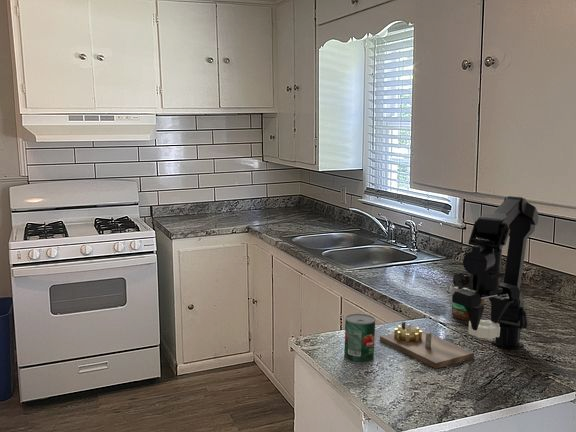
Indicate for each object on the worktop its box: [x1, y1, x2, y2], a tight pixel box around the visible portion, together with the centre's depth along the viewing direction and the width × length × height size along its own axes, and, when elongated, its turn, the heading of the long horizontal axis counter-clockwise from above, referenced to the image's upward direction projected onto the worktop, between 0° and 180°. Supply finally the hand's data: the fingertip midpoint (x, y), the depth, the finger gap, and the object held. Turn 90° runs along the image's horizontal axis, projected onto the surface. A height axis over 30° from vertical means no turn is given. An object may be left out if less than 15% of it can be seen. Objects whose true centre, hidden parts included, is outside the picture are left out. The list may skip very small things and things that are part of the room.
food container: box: [449, 282, 485, 322], centre depth 191 cm, size 12×6×10 cm, turn 47°
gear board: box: [379, 328, 475, 370], centre depth 164 cm, size 14×22×6 cm, turn 31°
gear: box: [393, 321, 423, 342], centre depth 168 cm, size 8×8×4 cm
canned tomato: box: [343, 313, 376, 365], centre depth 157 cm, size 8×8×11 cm
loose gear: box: [467, 319, 500, 340], centre depth 150 cm, size 7×7×2 cm
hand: (484, 327), depth 150 cm, fingers closed on loose gear, 7 cm apart
